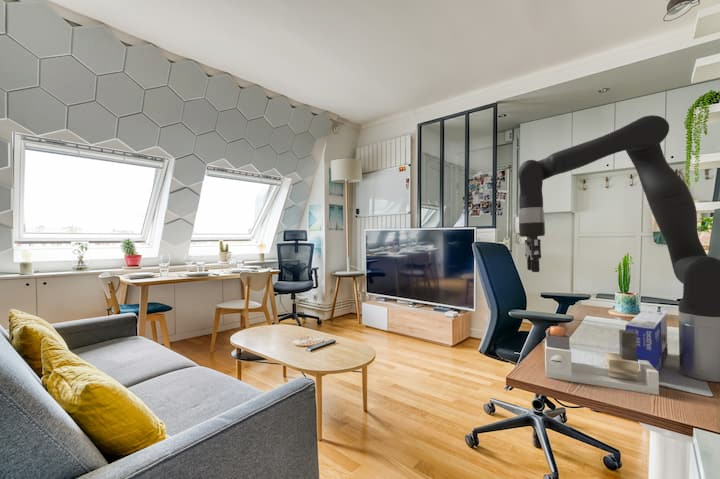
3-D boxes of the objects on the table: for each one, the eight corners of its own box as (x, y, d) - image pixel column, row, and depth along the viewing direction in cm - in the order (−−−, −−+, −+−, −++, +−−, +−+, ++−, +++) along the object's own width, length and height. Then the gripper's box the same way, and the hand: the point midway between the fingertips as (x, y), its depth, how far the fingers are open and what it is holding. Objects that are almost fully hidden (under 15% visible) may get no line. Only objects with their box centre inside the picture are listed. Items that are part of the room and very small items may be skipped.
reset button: (564, 337, 96) (564, 327, 96) (565, 340, 93) (565, 329, 93) (549, 335, 97) (549, 325, 98) (550, 339, 94) (550, 328, 94)
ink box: (656, 382, 89) (655, 328, 89) (624, 374, 94) (624, 324, 94) (669, 355, 110) (668, 312, 110) (642, 350, 115) (642, 309, 115)
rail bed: (647, 381, 89) (647, 340, 89) (659, 396, 81) (659, 350, 81) (545, 366, 100) (544, 329, 100) (546, 378, 92) (545, 338, 92)
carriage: (632, 373, 90) (631, 329, 90) (639, 382, 84) (638, 335, 84) (605, 369, 92) (604, 326, 93) (609, 377, 87) (609, 332, 87)
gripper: (549, 220, 103) (550, 272, 102) (540, 222, 116) (541, 269, 116) (522, 221, 105) (523, 272, 105) (516, 223, 118) (518, 269, 118)
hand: (533, 271), depth 110 cm, fingers open, 8 cm apart
